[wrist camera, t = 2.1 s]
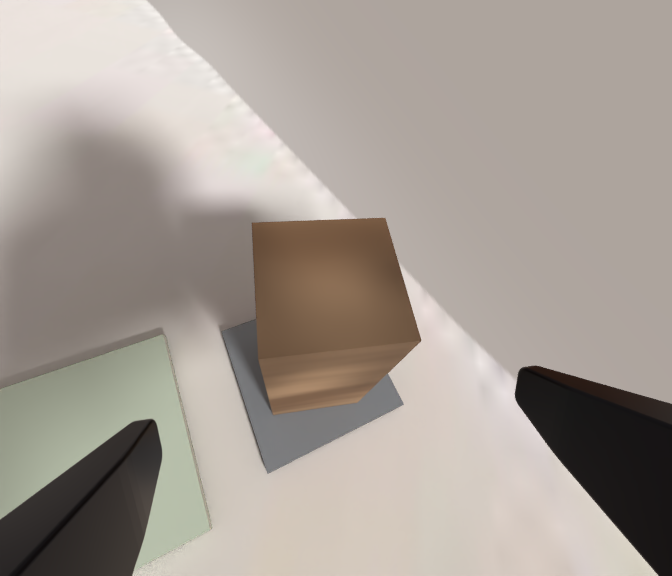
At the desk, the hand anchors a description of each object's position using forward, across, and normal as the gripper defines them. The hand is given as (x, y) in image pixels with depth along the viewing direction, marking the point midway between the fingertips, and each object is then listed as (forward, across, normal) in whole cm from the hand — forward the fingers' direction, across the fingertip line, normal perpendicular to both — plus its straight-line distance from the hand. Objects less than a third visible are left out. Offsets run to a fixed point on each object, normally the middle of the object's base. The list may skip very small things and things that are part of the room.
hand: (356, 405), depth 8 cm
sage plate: (+8, +12, +7) cm, 16 cm away
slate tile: (+10, 0, +5) cm, 12 cm away
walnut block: (+10, 0, +5) cm, 11 cm away
